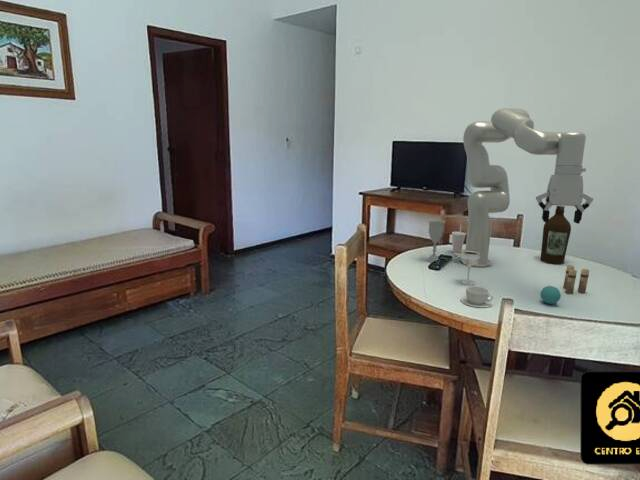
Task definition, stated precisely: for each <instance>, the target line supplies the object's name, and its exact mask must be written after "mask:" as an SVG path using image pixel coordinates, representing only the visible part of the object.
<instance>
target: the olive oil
mask: <svg viewBox="0 0 640 480" xmlns="http://www.w3.org/2000/svg"><path fill="white" fill-rule="evenodd" d="M555 206H556V208H555V211H554V215H552V216H551V217H549V221H548V223H546V222H544V225H543V228H542V229H543V230H542V239H541V240H542V241H541V251H540V261H541V262H543V263H545V264H551V265H563V264H565V259H566V255H567V249H568V244H569V240H570V236H571V231H572V226H571V223H570V221H569V220H568V219H567V218H566V217H565V208H566V207H565V206H559V205H555Z"/></svg>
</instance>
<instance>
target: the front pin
mask: <svg viewBox="0 0 640 480" xmlns="http://www.w3.org/2000/svg"><path fill="white" fill-rule="evenodd" d="M577 273H578V270H576V269H574V270H573V269H569V274H568V280H567V285H566V289H565V293H566V294H567V295H574V290H575V283H576V279H577Z"/></svg>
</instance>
